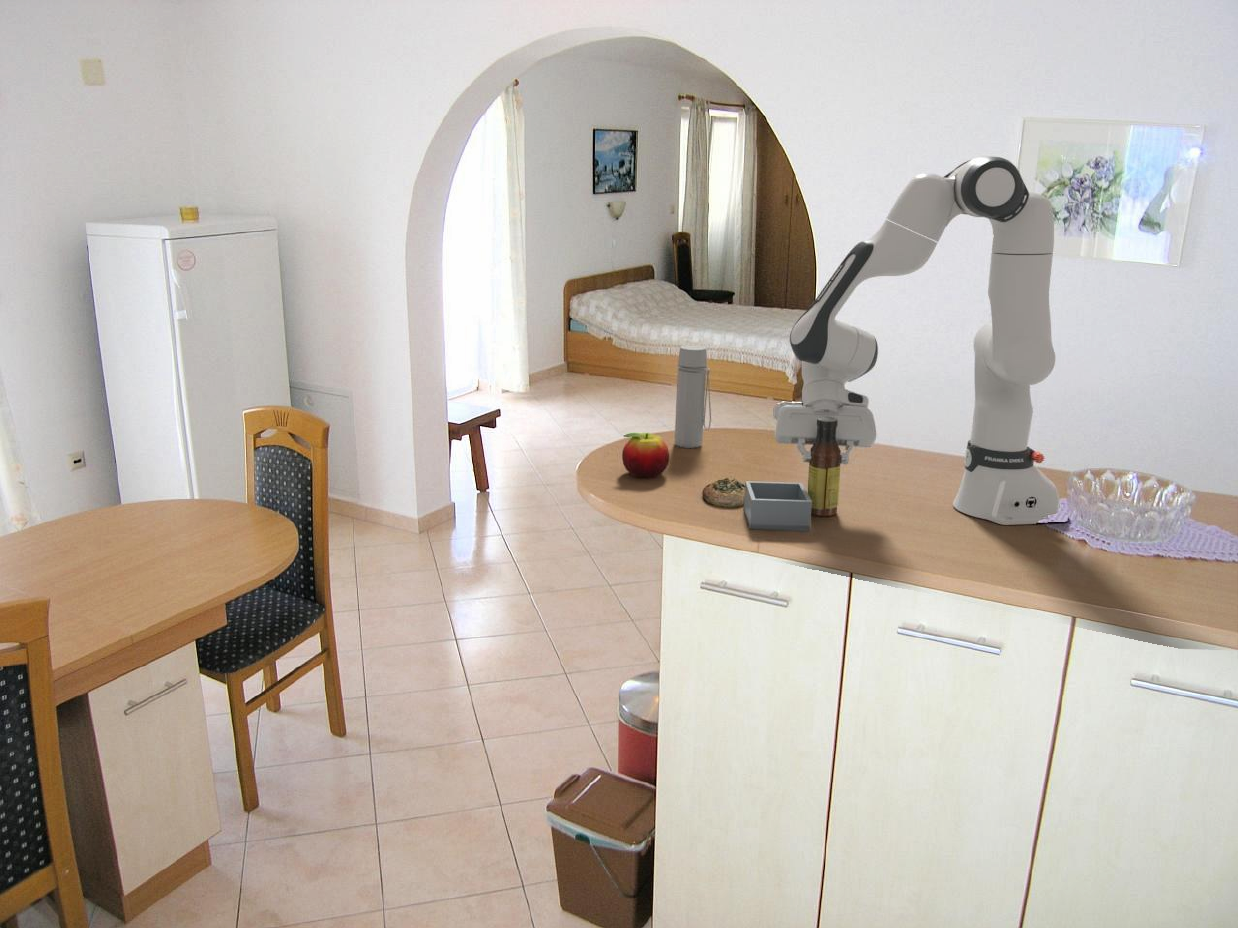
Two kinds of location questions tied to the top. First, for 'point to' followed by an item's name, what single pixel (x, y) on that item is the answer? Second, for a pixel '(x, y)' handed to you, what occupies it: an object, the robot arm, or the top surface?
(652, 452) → the fruit
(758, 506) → the bin
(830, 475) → the sauce bottle
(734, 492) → the bread roll
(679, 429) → the water bottle
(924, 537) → the top surface
